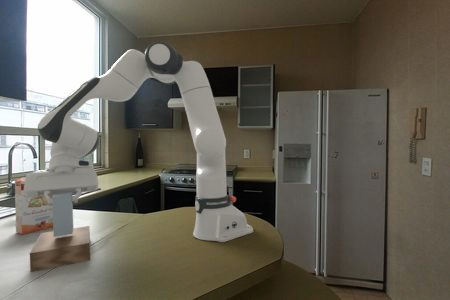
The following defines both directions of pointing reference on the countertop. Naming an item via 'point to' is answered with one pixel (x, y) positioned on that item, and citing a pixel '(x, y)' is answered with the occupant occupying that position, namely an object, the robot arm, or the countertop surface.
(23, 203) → the cracker box
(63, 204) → the block
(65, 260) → the walnut wood block
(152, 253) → the countertop surface
